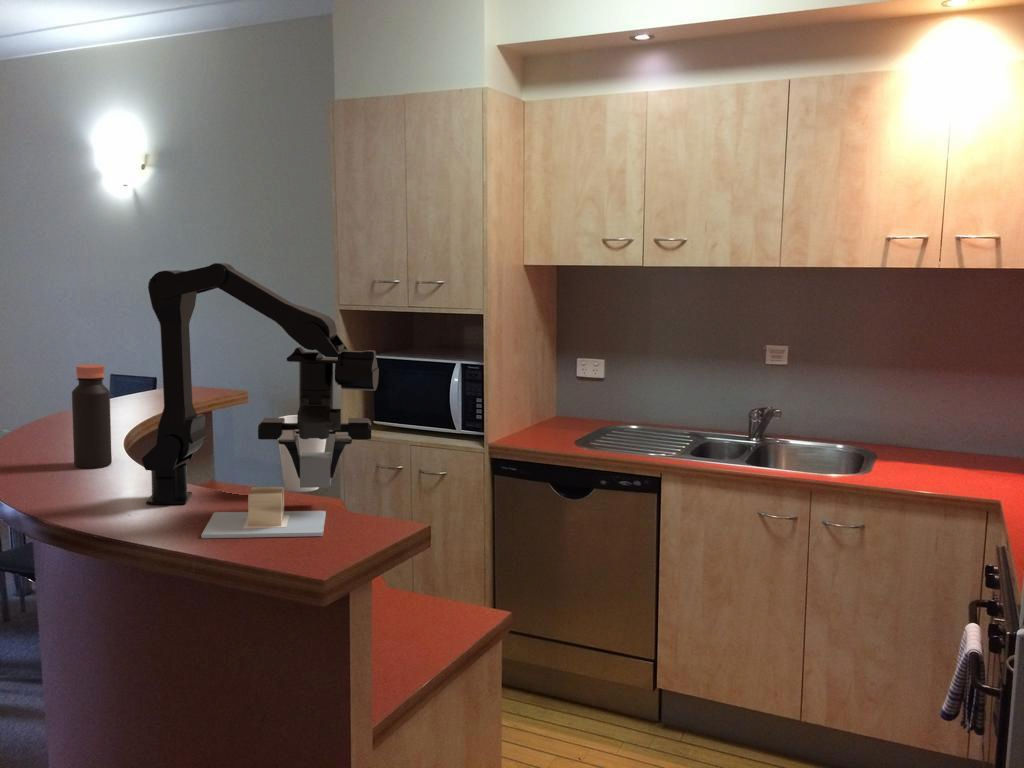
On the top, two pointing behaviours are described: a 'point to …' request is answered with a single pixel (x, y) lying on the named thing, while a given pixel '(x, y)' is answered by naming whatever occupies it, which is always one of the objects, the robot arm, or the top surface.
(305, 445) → the foam cup
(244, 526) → the board
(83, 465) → the bottle
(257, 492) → the maple block
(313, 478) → the charcoal block
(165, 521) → the top surface
